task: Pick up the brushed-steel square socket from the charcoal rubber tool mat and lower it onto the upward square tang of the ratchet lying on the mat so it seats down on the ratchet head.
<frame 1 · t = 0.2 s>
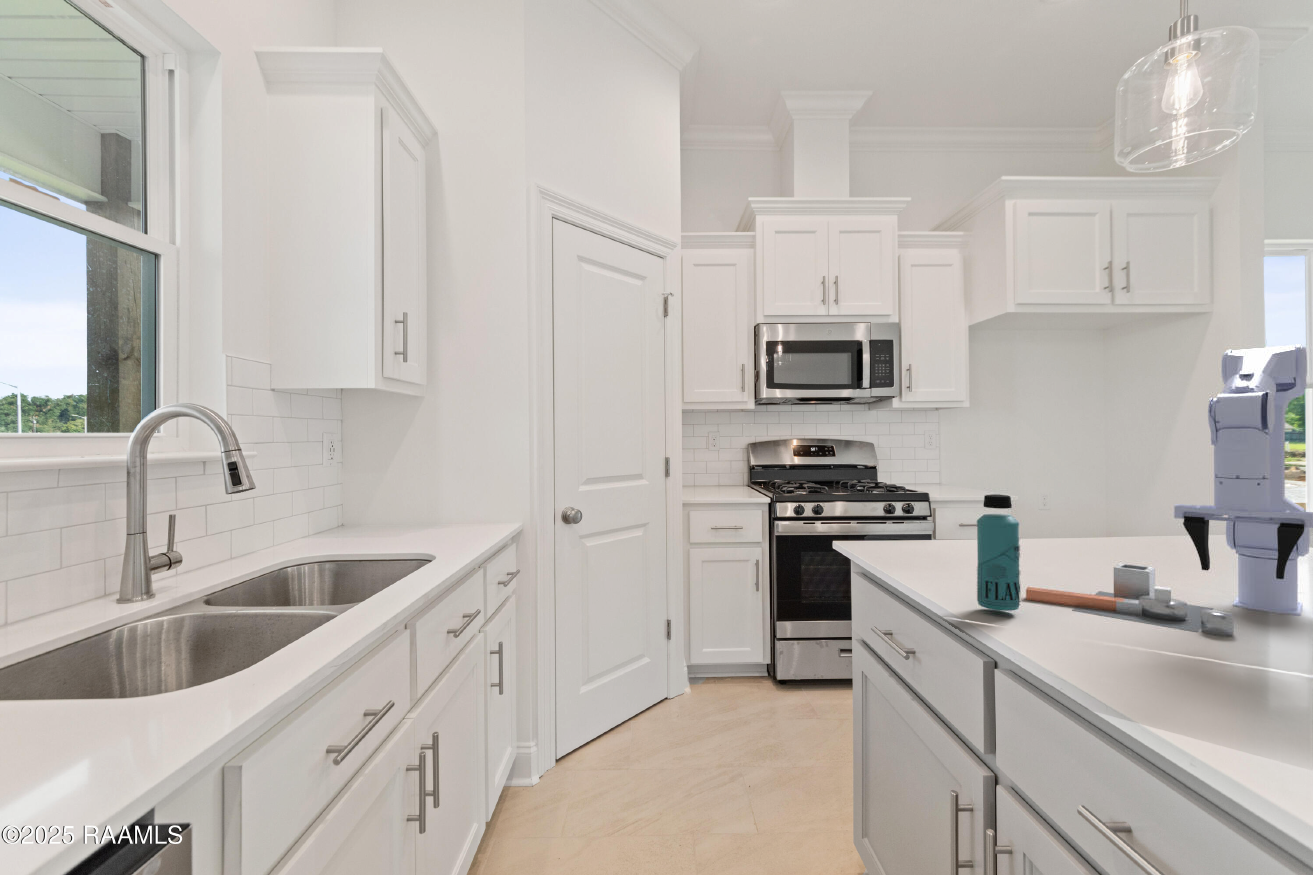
hand: (1241, 573, 88), 10 cm above the countertop, tool pointing down, fingers open, 7 cm apart
beverage bottle: (998, 615, 103), on the countertop
tool mat: (1142, 610, 104), on the countertop
socket: (1134, 601, 109), resting on tool mat
ratchet: (1162, 615, 100), on the countertop, touching tool mat
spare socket: (1217, 634, 92), on the countertop
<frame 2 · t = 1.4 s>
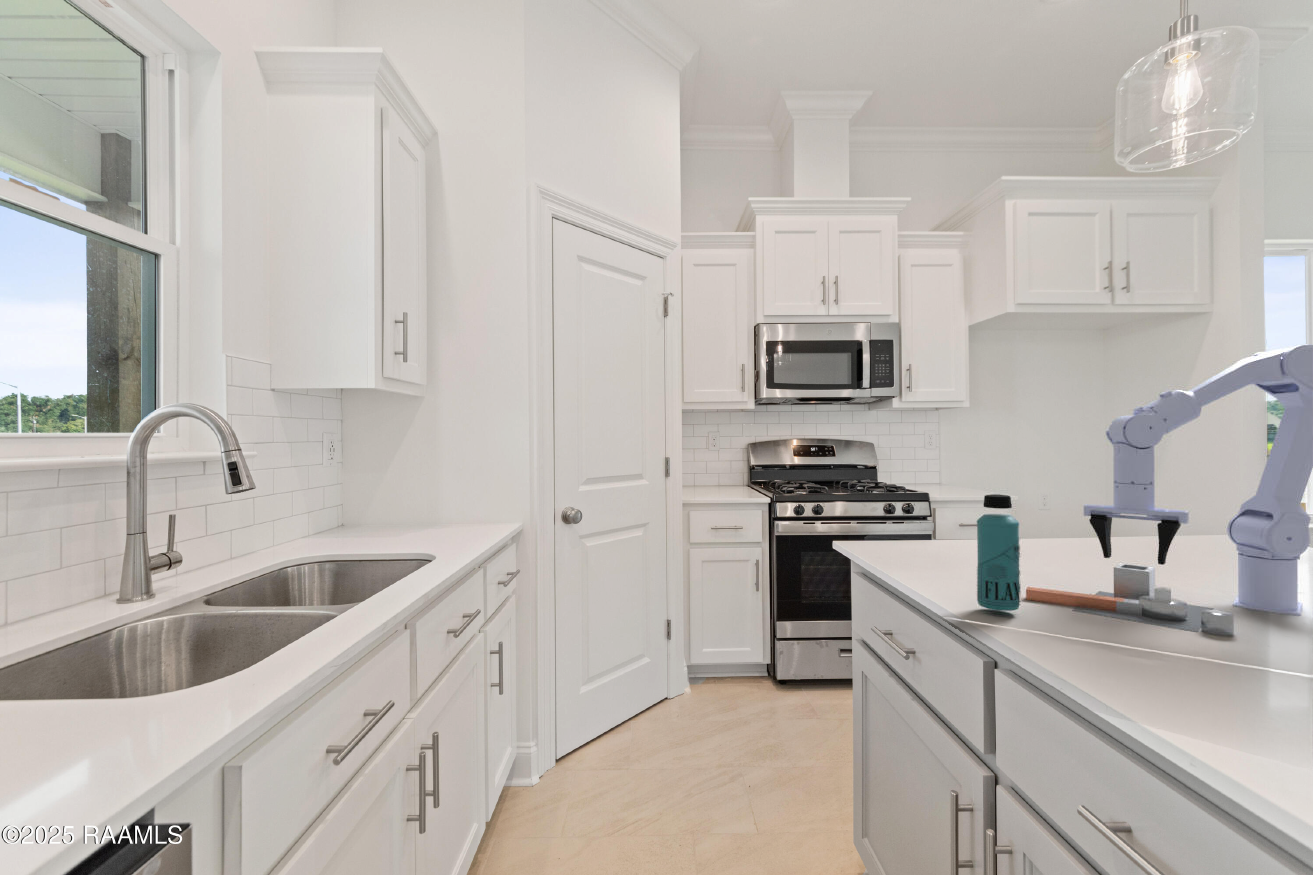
hand: (1133, 560, 109), 8 cm above the countertop, tool pointing down, fingers open, 7 cm apart
nothing on the countertop moved.
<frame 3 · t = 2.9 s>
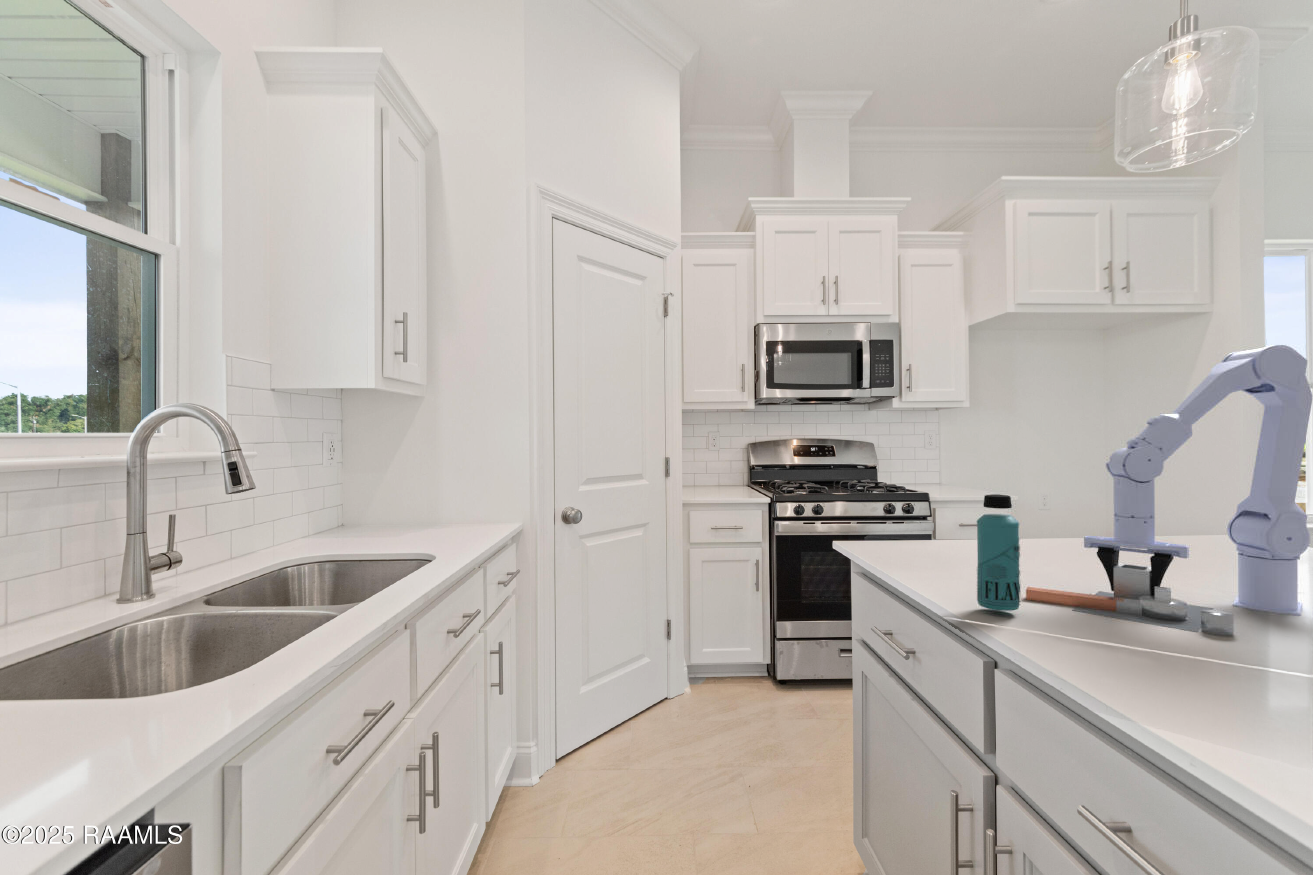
hand: (1134, 593, 109), 2 cm above the countertop, tool pointing down, fingers closed on socket, 5 cm apart
socket: (1134, 601, 109), resting on tool mat, touching gripper
everything else where it was.
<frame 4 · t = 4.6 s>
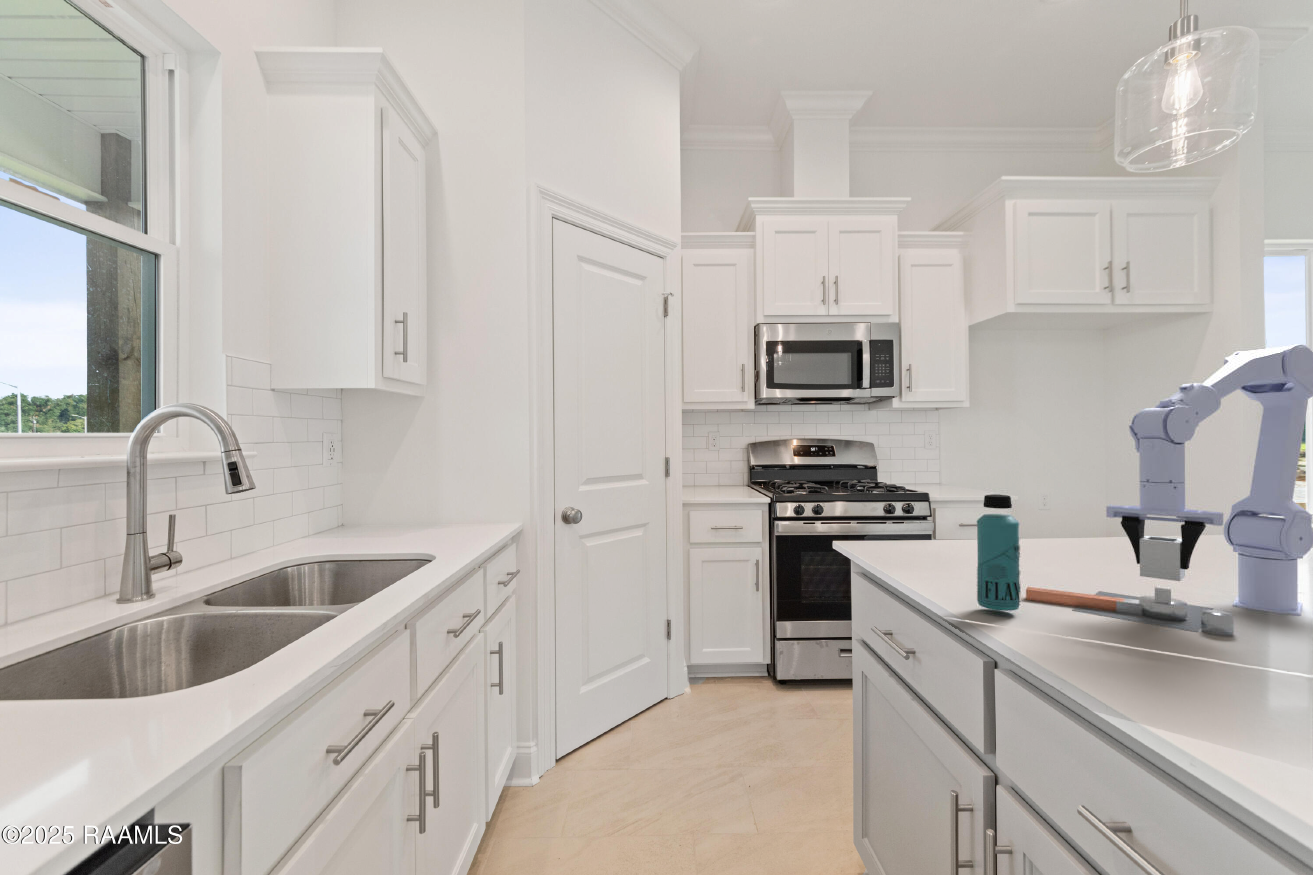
hand: (1162, 565, 100), 8 cm above the countertop, tool pointing down, fingers closed on socket, 5 cm apart
socket: (1162, 576, 100), point 7 cm above the countertop, touching gripper
everything else where it was.
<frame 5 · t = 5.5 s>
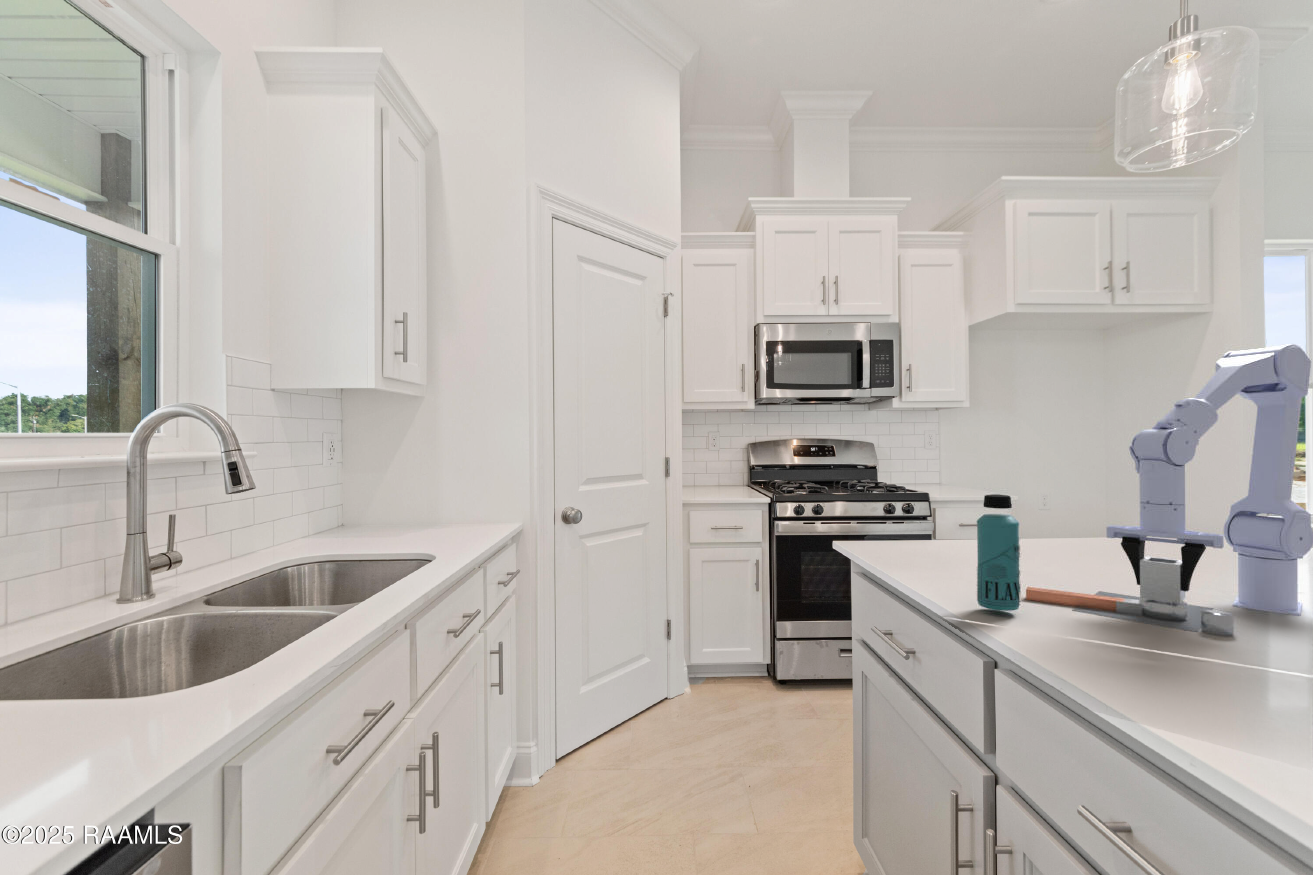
hand: (1162, 587, 100), 5 cm above the countertop, tool pointing down, fingers closed on socket, 5 cm apart
socket: (1162, 597, 100), point 3 cm above the countertop, touching gripper
everything else where it was.
when the fingers open (5 cm above the countertop, at t = 6.2 s): socket stays where it is, resting on ratchet.
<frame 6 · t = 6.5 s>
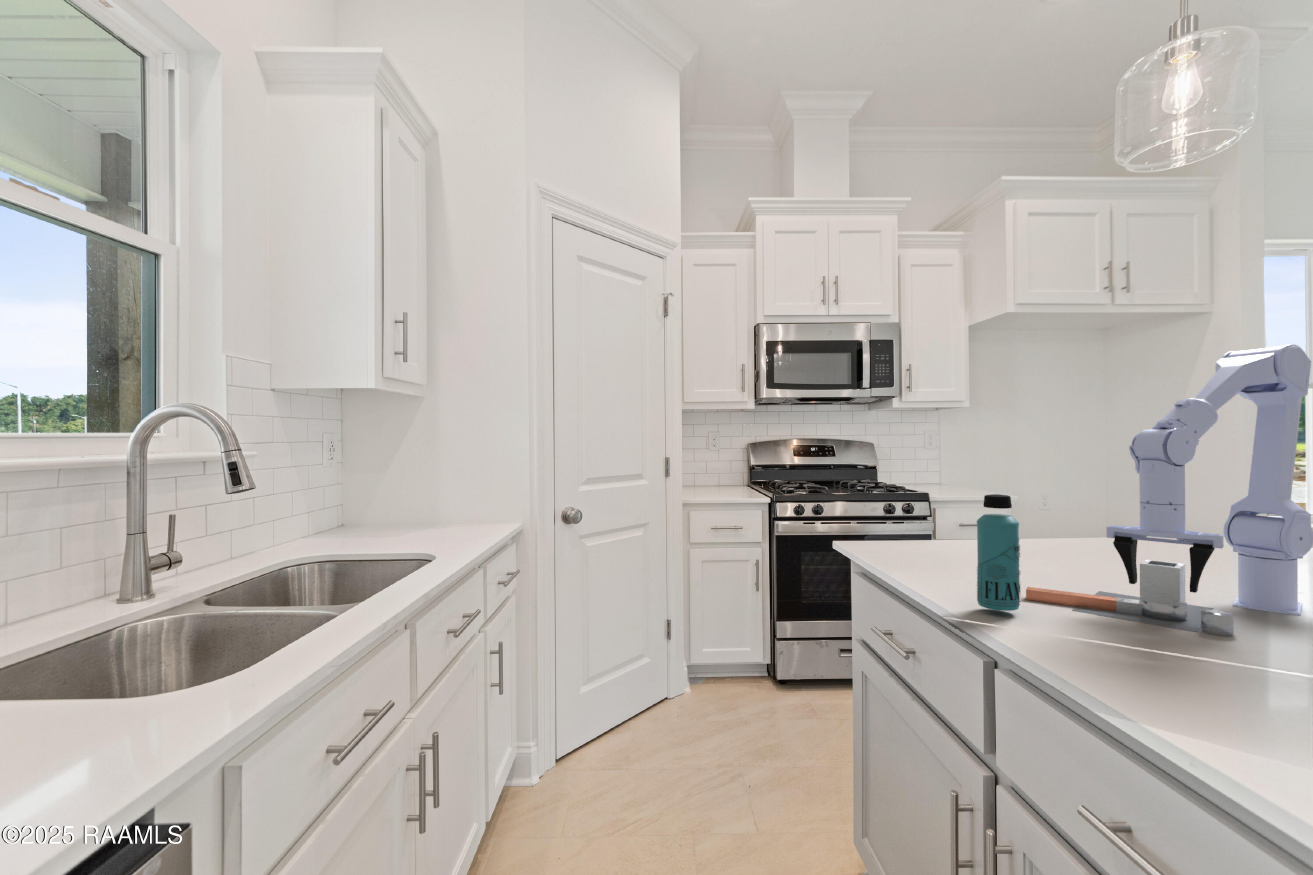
hand: (1162, 586, 100), 5 cm above the countertop, tool pointing down, fingers open, 7 cm apart
socket: (1162, 600, 100), point 3 cm above the countertop, touching ratchet
ratchet: (1162, 615, 100), on the countertop, touching socket, tool mat
everything else where it was.
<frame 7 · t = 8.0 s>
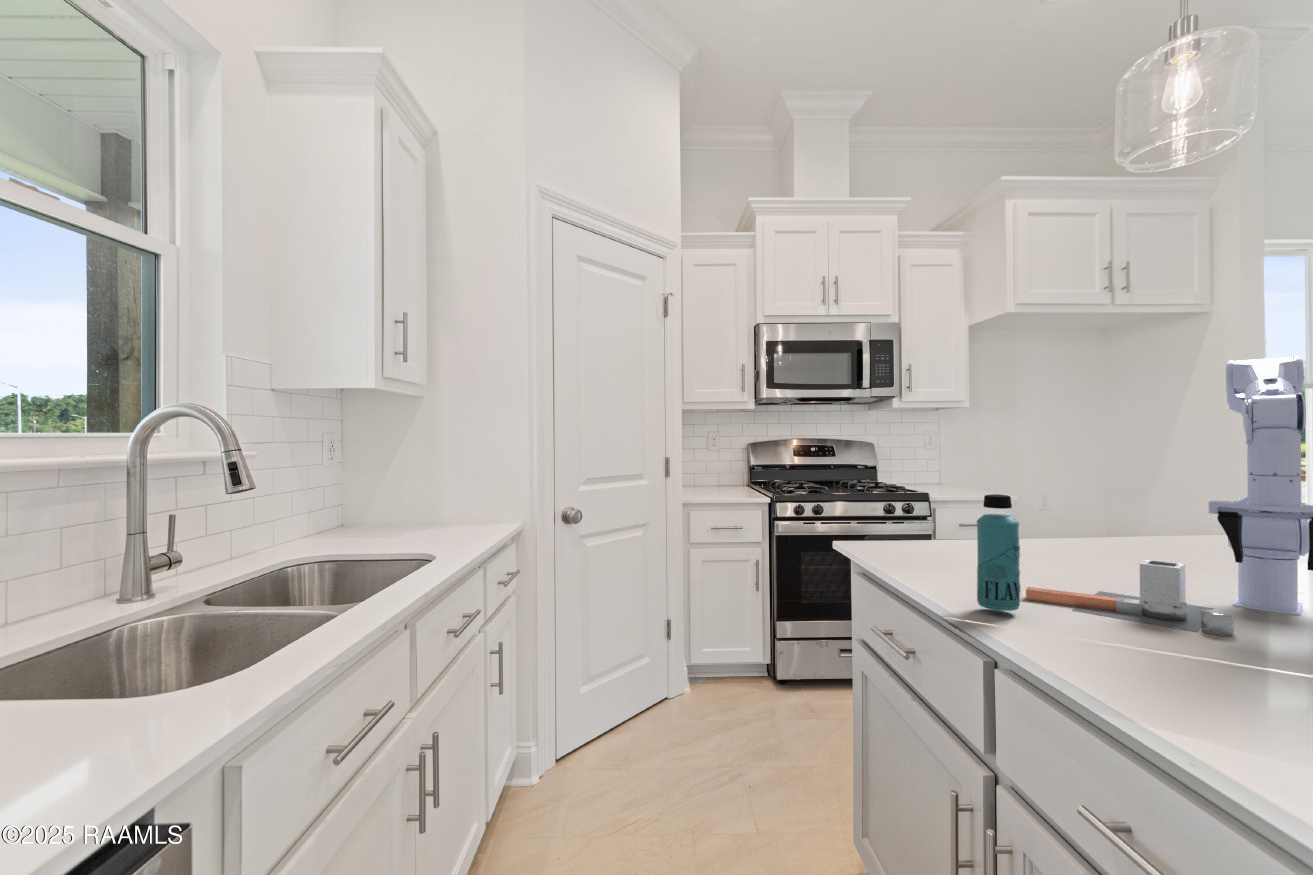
hand: (1274, 565, 93), 10 cm above the countertop, tool pointing down, fingers open, 7 cm apart
nothing on the countertop moved.
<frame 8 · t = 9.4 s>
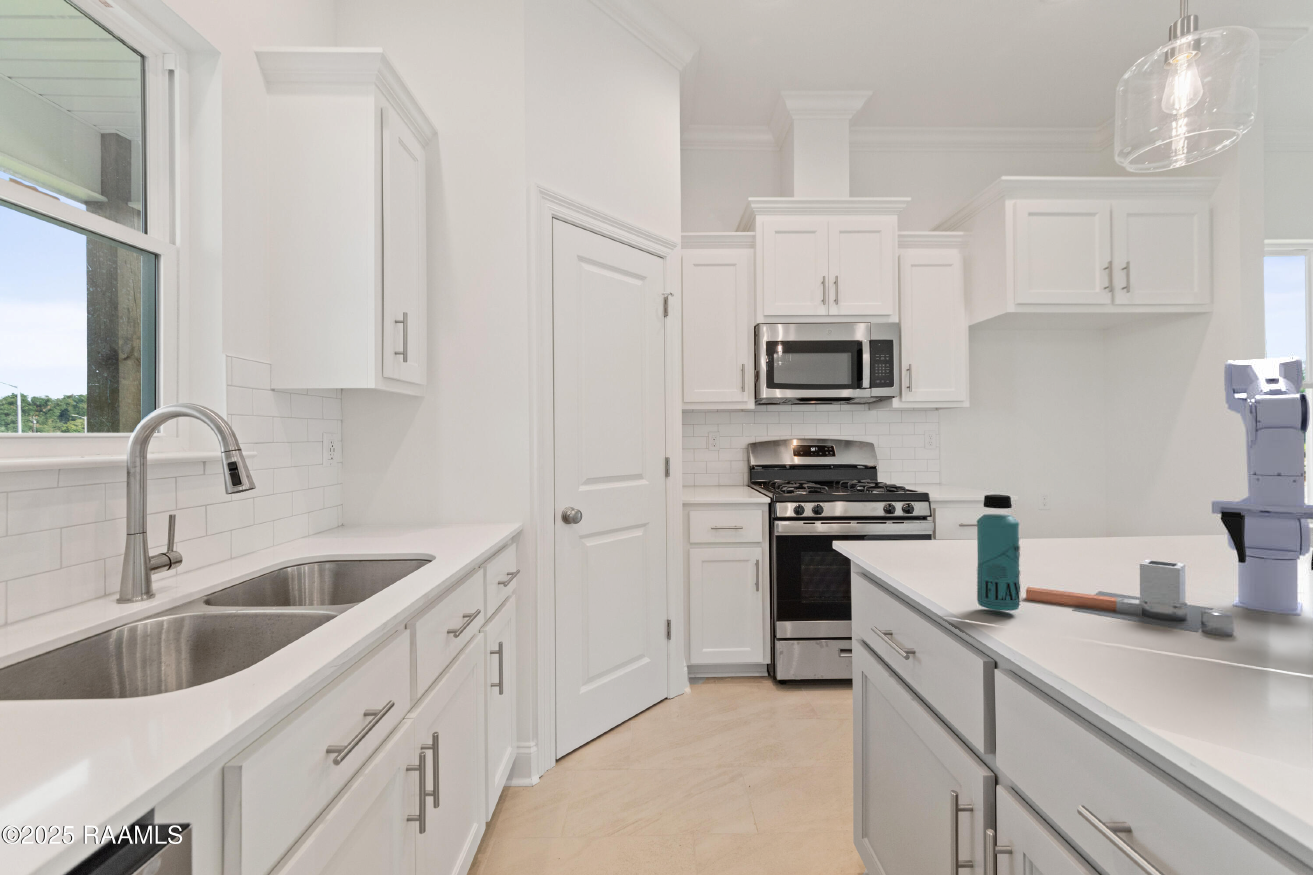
hand: (1277, 565, 93), 10 cm above the countertop, tool pointing down, fingers open, 7 cm apart
nothing on the countertop moved.
at the end: socket 0.0 cm off-centre on the ratchet, point 2.5 cm above the ratchet's base; socket tilted 0°; the gripper is holding nothing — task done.
